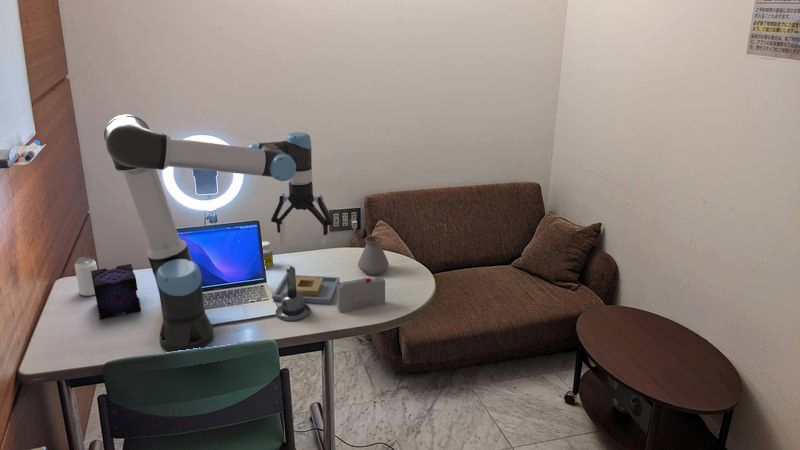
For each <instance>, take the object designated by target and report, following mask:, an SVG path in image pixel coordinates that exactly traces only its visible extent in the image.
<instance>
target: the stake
mask: <svg viewBox="0 0 800 450" xmlns="http://www.w3.org/2000/svg"><path fill="white" fill-rule="evenodd" d="M285 271H286V274H285V275H287V292H286V293H284V294H282V296H281V302H280V303H281V305H279V306H278V307H277V308H276V309H275V317H276V318H277V319H279V320H281V321H284V322H298V321H302V320H304V319H306V318H308V317H309V315H310V314H311V308H310V306H309V304H307V303H304V299H303V294H302V293H301V292H298V291H296V275H297V274H296V268H295V267H294V266H293V265H290V266H288V267H286V269H285Z"/></svg>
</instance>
